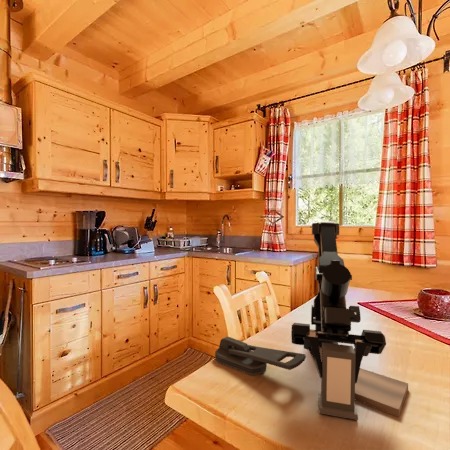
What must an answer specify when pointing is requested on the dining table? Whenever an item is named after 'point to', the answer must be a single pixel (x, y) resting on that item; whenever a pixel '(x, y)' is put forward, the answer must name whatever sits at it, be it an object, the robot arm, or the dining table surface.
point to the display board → (380, 392)
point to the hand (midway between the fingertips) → (338, 380)
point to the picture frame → (338, 381)
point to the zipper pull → (253, 357)
